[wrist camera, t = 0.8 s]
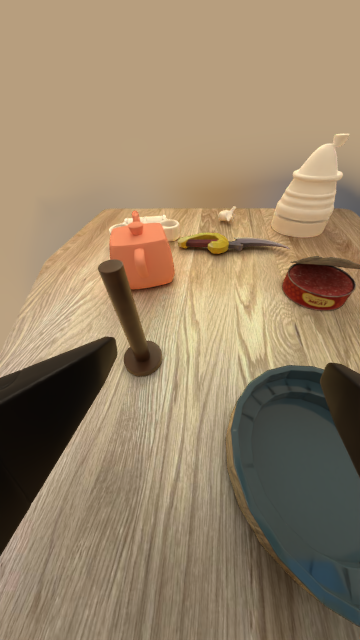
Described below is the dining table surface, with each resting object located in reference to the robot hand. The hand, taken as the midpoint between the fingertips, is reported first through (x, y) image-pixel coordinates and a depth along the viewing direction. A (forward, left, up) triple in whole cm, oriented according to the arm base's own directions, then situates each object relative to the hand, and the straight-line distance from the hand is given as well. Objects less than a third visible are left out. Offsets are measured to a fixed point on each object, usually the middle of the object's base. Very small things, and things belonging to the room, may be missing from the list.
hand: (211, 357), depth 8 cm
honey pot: (+57, -8, -16) cm, 59 cm away
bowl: (+2, -10, -15) cm, 18 cm away
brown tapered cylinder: (+6, +10, -15) cm, 19 cm away
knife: (+40, +6, -16) cm, 43 cm away
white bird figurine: (+56, +11, -16) cm, 59 cm away
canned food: (+29, -11, -16) cm, 34 cm away
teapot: (+24, +20, -16) cm, 35 cm away
